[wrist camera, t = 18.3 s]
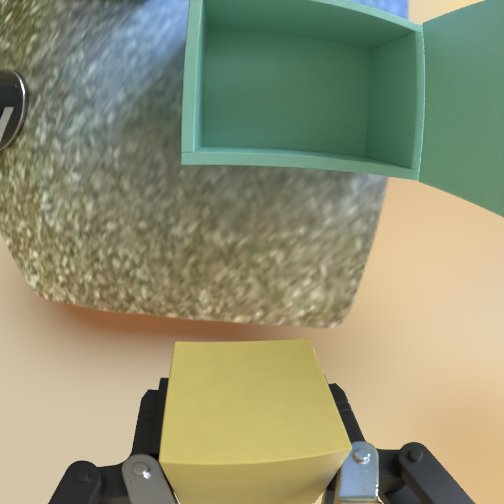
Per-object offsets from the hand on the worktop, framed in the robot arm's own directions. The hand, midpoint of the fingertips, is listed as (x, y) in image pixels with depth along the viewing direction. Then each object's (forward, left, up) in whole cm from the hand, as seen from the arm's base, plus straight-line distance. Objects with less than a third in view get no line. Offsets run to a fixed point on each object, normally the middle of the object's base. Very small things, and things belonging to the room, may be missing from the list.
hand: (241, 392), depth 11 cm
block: (0, 0, 0) cm, 0 cm away
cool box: (+5, +14, -19) cm, 24 cm away
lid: (+13, +14, -1) cm, 19 cm away
